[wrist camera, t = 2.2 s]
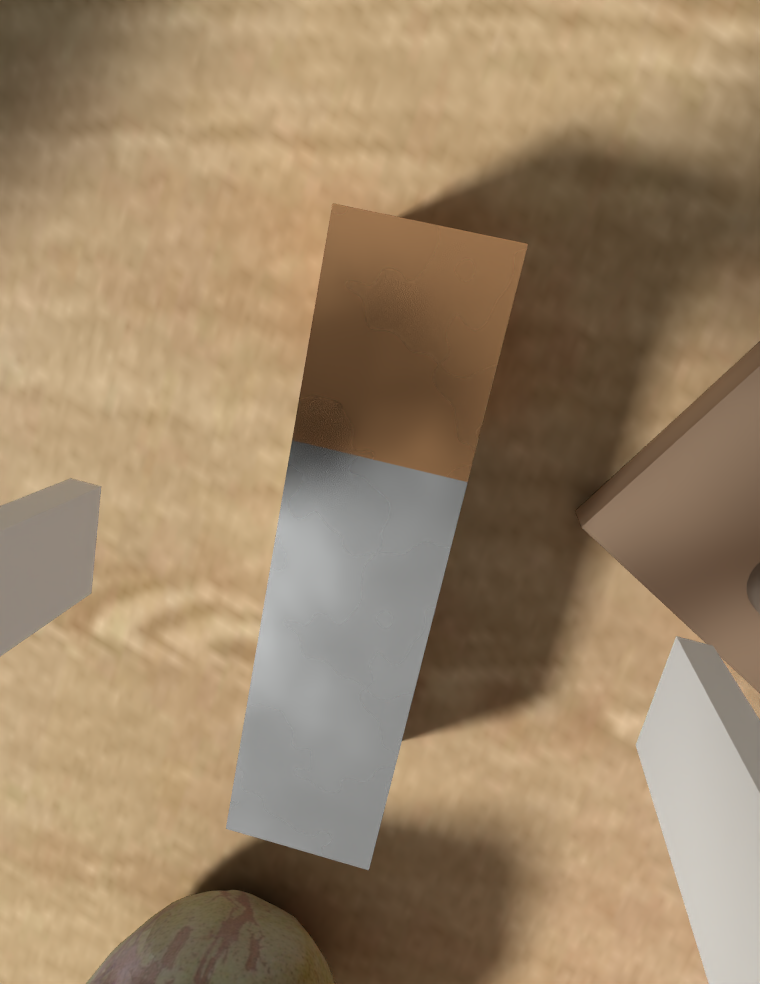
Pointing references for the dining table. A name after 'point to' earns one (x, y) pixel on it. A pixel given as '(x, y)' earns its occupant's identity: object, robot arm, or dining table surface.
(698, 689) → the robot arm
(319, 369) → the bar
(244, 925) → the fruit
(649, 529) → the peg rack
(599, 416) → the dining table surface
